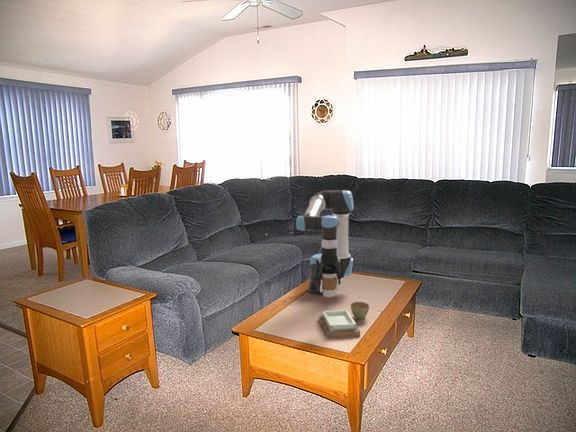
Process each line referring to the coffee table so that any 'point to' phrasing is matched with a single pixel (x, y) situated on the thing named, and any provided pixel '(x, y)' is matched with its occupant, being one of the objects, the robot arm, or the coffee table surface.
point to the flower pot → (359, 309)
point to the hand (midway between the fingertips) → (329, 291)
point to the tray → (339, 320)
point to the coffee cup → (329, 281)
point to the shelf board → (338, 333)
